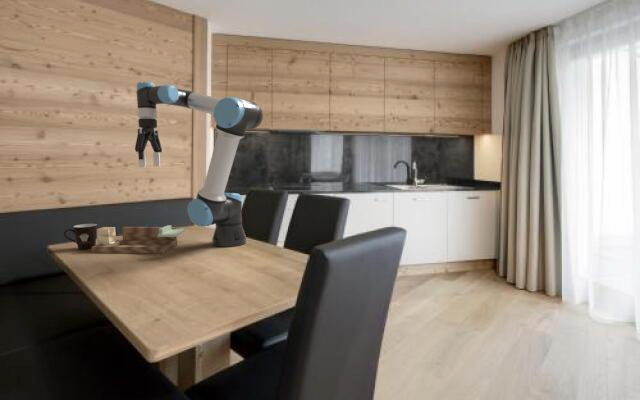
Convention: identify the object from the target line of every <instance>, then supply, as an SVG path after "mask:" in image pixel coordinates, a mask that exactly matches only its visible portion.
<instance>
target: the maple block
mask: <svg viewBox="0 0 640 400" xmlns="http://www.w3.org/2000/svg"><path fill="white" fill-rule="evenodd" d="M116 233H117V232H116V227H115V226H113V227H111V226H110V227H109V226H108V227H107V226H106V227H105V226H103V227H100V228H97V231H96V242H97V244H100V243H112V242H114V241H116V240H117V236H116Z"/></svg>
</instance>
